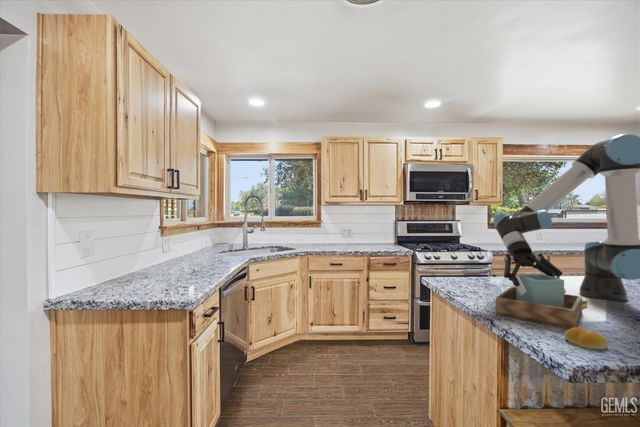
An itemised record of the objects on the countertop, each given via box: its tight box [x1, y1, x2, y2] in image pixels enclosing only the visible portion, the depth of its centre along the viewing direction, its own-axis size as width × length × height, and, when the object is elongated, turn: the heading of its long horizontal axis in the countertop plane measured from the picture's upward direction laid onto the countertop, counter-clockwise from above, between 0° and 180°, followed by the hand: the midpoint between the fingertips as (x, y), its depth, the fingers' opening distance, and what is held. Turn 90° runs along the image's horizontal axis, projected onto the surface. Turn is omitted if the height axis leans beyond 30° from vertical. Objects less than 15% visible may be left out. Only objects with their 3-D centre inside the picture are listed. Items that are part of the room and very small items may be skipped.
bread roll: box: [564, 326, 609, 351], centre depth 89 cm, size 8×9×4 cm
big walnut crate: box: [495, 286, 583, 330], centre depth 114 cm, size 22×22×6 cm
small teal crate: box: [516, 273, 565, 308], centre depth 114 cm, size 10×10×12 cm
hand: (543, 293), depth 112 cm, fingers open, 13 cm apart
